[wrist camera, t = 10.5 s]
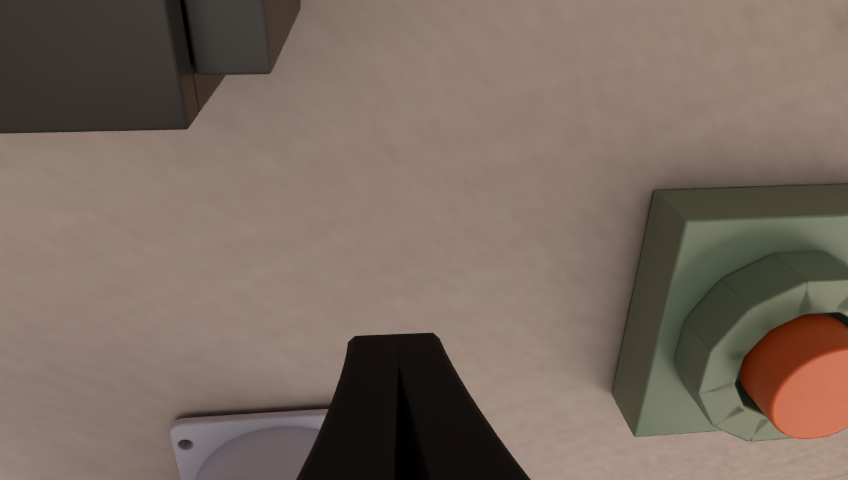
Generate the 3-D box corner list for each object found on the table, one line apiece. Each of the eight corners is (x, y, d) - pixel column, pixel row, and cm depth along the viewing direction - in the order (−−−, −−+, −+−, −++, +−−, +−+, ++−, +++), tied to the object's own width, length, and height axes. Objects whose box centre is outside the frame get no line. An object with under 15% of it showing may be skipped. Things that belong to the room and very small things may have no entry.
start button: (827, 397, 21) (864, 436, 19) (726, 404, 21) (756, 443, 19) (864, 309, 19) (908, 344, 18) (755, 315, 19) (791, 352, 17)
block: (797, 382, 26) (867, 458, 22) (610, 395, 25) (653, 475, 21) (875, 182, 21) (978, 236, 18) (653, 189, 21) (714, 248, 17)
